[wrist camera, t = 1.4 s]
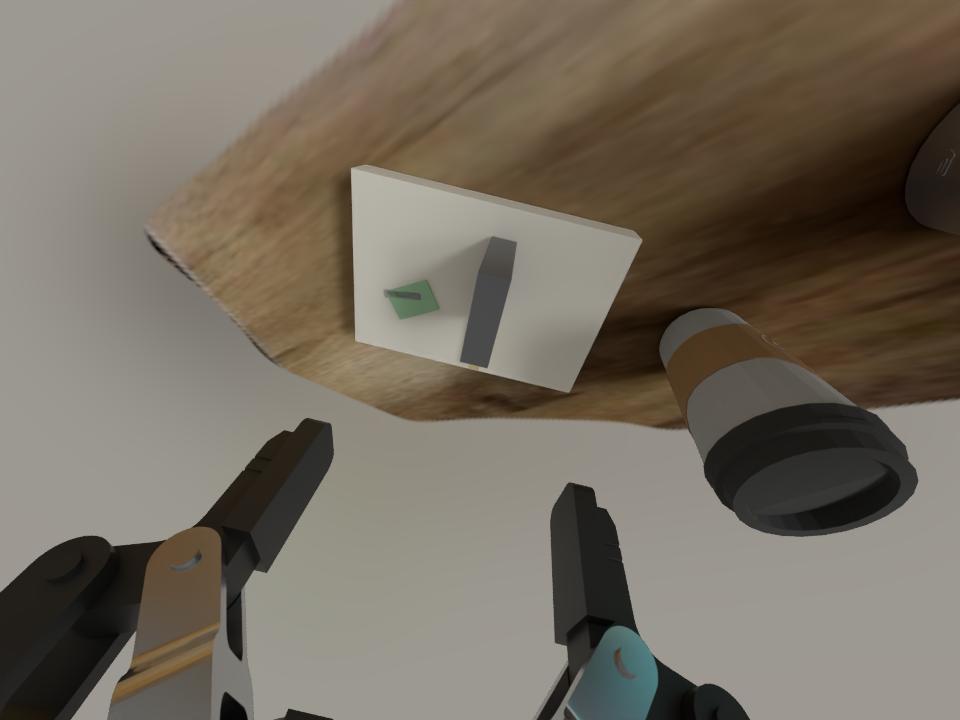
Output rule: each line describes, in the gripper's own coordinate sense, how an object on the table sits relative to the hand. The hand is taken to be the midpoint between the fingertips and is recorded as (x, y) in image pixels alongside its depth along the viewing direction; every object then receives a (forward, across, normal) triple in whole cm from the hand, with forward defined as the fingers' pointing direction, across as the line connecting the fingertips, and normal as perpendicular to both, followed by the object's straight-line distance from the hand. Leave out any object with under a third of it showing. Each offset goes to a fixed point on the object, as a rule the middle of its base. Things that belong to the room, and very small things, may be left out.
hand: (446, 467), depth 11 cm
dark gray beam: (+17, 0, +3) cm, 17 cm away
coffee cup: (+20, -18, +2) cm, 27 cm away
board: (+20, +1, +2) cm, 20 cm away
